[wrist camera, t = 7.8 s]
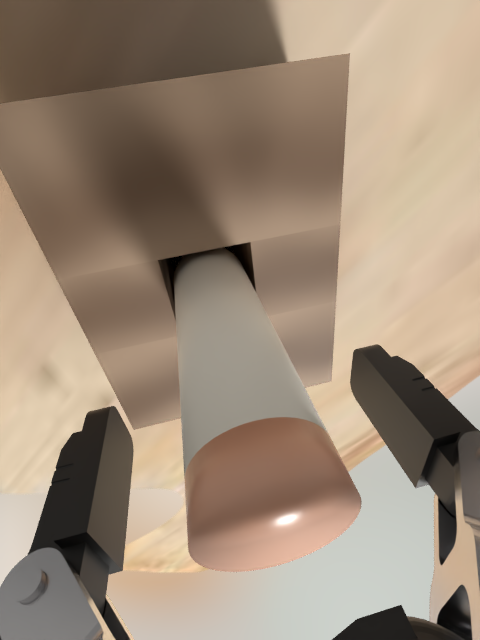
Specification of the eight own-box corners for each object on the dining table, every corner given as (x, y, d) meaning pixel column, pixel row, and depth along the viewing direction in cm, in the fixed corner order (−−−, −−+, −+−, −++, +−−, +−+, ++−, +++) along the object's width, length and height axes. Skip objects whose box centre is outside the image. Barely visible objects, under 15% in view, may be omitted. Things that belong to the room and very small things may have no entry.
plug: (165, 254, 16) (166, 513, 6) (239, 239, 17) (370, 457, 6) (182, 316, 19) (207, 586, 8) (248, 302, 19) (354, 542, 8)
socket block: (37, 110, 17) (-31, 107, 11) (290, 73, 18) (349, 53, 12) (140, 362, 27) (133, 429, 21) (297, 326, 28) (331, 381, 22)
